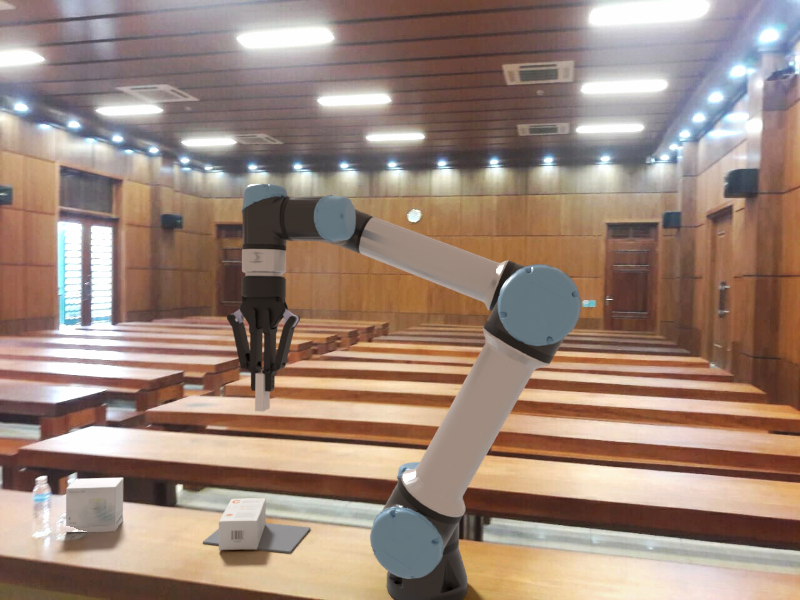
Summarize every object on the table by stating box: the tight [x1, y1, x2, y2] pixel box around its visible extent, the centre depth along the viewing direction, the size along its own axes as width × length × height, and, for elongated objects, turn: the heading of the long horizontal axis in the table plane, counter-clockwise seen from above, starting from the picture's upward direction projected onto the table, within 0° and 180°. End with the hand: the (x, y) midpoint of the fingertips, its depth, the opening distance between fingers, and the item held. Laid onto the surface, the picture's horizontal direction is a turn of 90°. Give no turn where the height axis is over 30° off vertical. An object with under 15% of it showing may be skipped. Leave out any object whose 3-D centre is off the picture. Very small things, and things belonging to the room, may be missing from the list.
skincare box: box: [65, 477, 124, 533], centre depth 133 cm, size 10×6×10 cm, turn 99°
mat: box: [202, 522, 311, 554], centre depth 130 cm, size 20×12×1 cm, turn 79°
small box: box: [218, 497, 267, 551], centre depth 128 cm, size 8×6×13 cm
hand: (262, 409), depth 102 cm, fingers closed
